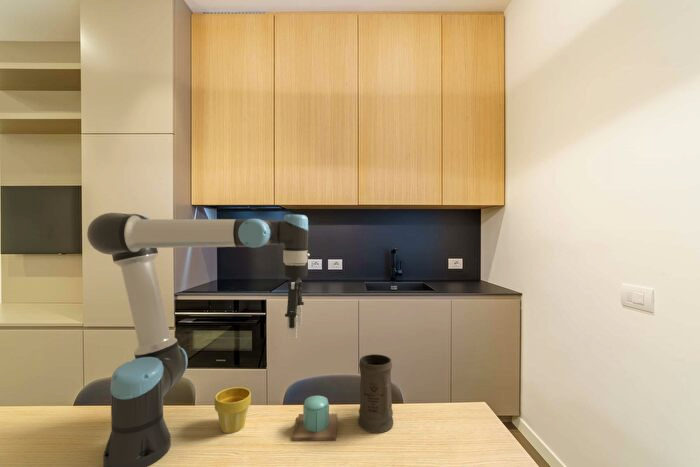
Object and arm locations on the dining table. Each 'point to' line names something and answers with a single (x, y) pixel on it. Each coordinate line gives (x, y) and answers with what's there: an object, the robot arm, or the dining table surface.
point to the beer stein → (375, 394)
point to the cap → (316, 413)
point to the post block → (323, 435)
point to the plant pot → (232, 408)
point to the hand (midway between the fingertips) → (294, 331)
